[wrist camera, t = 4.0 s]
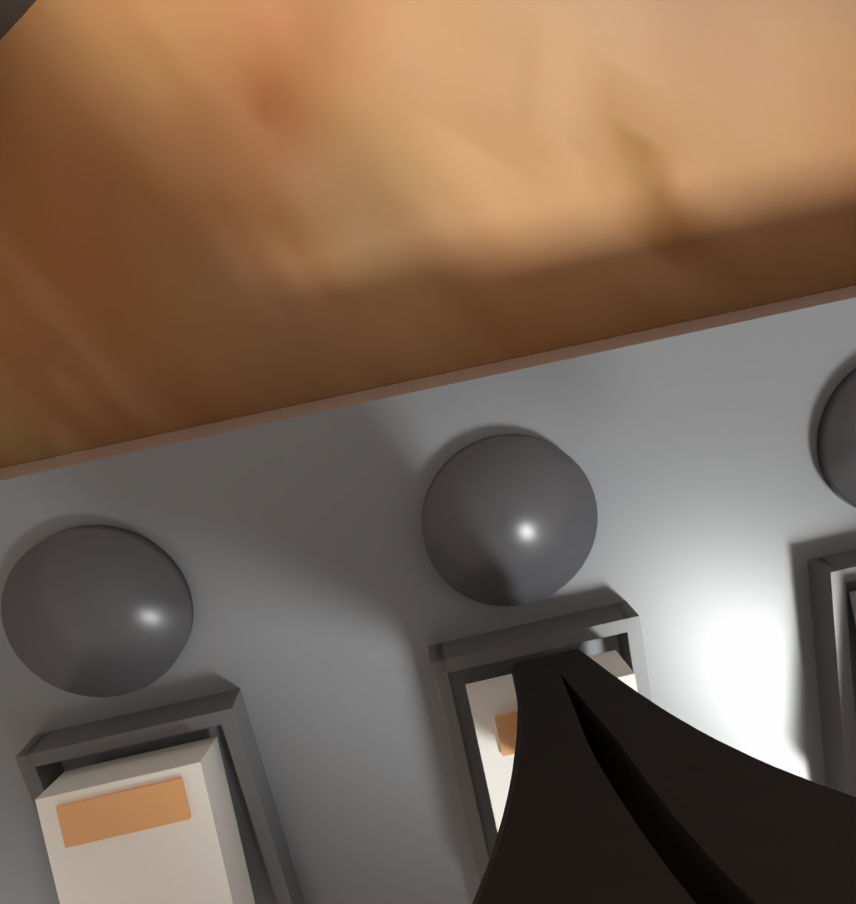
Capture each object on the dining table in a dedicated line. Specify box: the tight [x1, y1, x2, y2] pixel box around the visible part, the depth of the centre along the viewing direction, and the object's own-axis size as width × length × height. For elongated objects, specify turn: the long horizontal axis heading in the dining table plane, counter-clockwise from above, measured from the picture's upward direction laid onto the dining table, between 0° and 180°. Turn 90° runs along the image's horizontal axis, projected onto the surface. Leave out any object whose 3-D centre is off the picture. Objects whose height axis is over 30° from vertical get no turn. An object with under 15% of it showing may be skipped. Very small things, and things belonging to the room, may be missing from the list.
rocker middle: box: [465, 650, 638, 833], centre depth 12 cm, size 6×3×1 cm, turn 12°
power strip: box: [0, 285, 856, 904], centre depth 14 cm, size 13×35×4 cm, turn 102°
